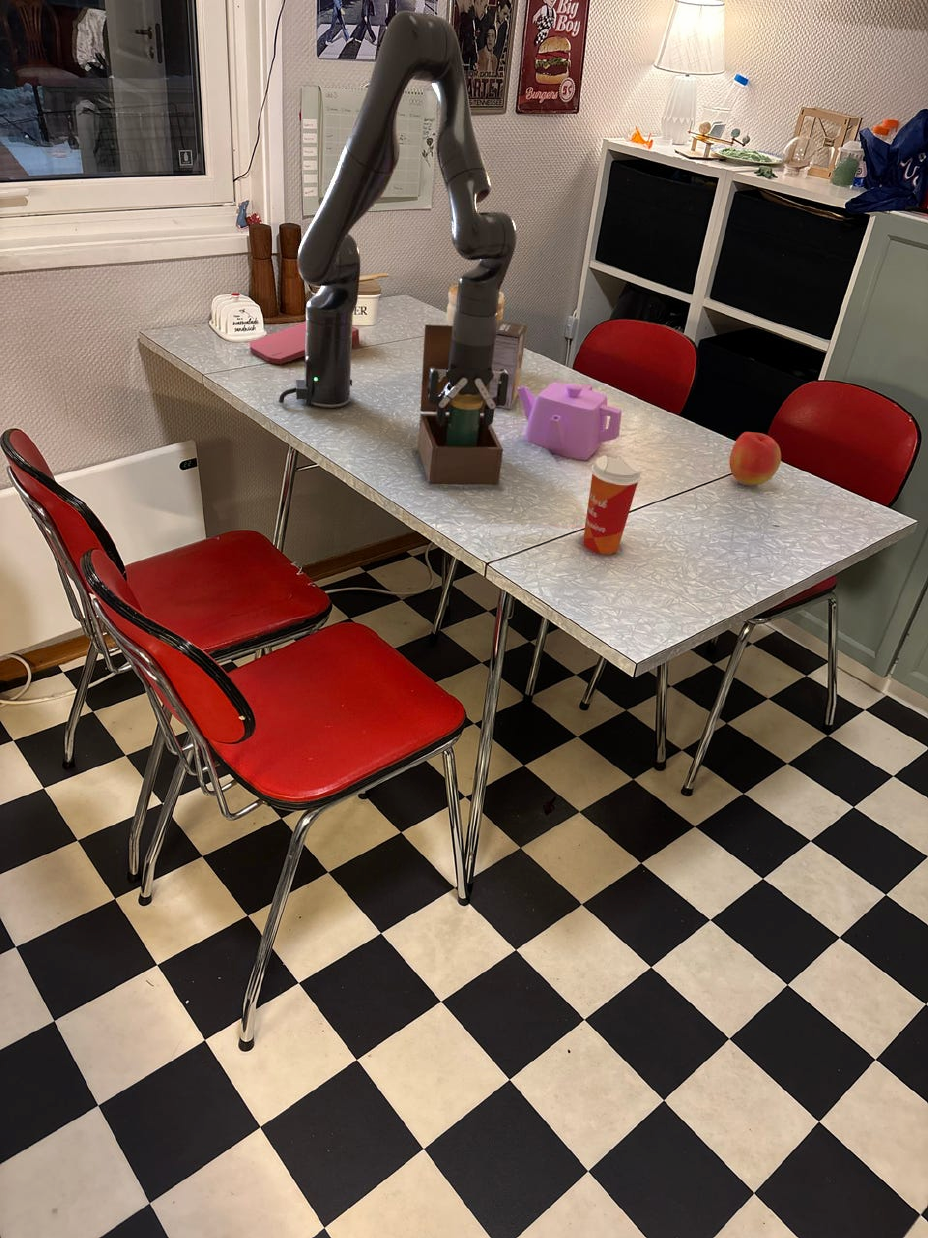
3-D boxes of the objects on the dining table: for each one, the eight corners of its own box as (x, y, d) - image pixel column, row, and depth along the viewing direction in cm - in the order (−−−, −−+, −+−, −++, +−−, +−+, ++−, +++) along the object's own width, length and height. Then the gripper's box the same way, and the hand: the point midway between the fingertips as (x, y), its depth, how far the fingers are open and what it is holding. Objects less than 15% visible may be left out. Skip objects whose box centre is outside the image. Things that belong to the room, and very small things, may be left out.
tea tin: (445, 476, 173) (452, 404, 165) (440, 461, 178) (447, 390, 170) (476, 476, 175) (485, 404, 167) (470, 462, 179) (479, 391, 171)
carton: (277, 380, 213) (364, 347, 226) (274, 360, 210) (363, 327, 223) (247, 363, 220) (333, 331, 233) (244, 343, 216) (331, 312, 229)
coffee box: (489, 389, 213) (499, 318, 204) (517, 395, 212) (528, 323, 203) (482, 404, 205) (491, 331, 196) (511, 410, 205) (521, 336, 195)
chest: (497, 488, 173) (503, 449, 169) (428, 488, 171) (432, 447, 166) (481, 453, 185) (486, 415, 181) (417, 452, 182) (420, 413, 178)
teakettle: (619, 459, 190) (632, 400, 183) (543, 464, 184) (553, 404, 177) (581, 423, 202) (592, 367, 195) (509, 428, 197) (517, 370, 190)
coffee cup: (572, 531, 163) (588, 452, 155) (618, 534, 164) (636, 455, 156) (581, 557, 156) (598, 475, 148) (629, 559, 157) (649, 478, 149)
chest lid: (494, 328, 173) (493, 327, 174) (425, 324, 171) (424, 324, 171) (487, 413, 180) (486, 412, 181) (420, 411, 177) (420, 410, 178)
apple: (744, 496, 182) (759, 448, 176) (712, 474, 189) (726, 427, 183) (781, 490, 186) (797, 443, 180) (749, 468, 193) (763, 422, 187)
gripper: (509, 330, 166) (497, 418, 176) (428, 327, 163) (421, 416, 173) (518, 345, 161) (506, 435, 170) (435, 342, 158) (427, 433, 167)
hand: (463, 425), depth 171 cm, fingers open, 7 cm apart
